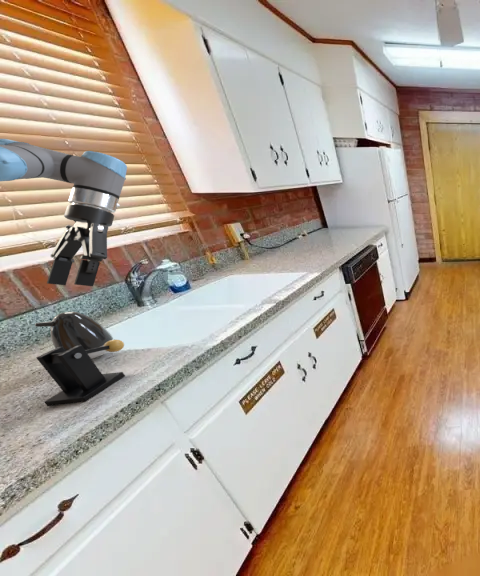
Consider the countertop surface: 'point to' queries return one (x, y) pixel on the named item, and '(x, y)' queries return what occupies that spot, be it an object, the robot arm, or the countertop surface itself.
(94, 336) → the dark glossy oval piece
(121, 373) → the black lever base
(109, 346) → the tap lever
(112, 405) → the countertop surface
